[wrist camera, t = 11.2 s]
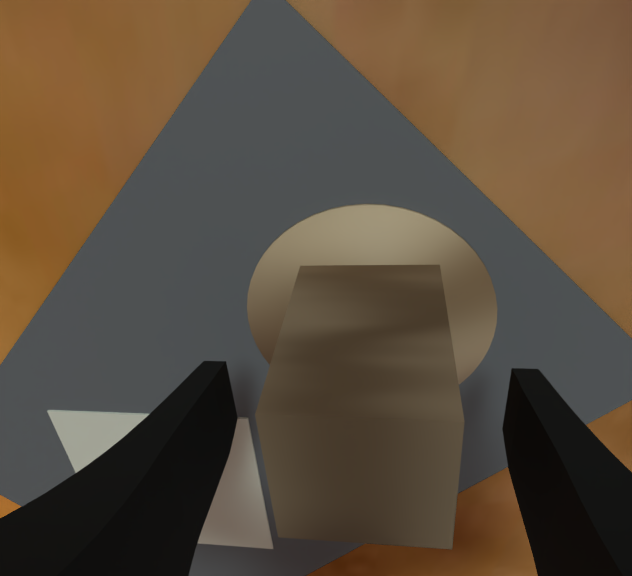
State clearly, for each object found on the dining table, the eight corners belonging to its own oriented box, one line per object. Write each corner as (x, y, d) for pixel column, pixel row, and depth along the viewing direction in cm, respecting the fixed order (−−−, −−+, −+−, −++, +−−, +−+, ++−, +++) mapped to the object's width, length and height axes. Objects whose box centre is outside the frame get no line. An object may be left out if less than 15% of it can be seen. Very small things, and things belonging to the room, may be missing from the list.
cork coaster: (551, 320, 15) (552, 323, 15) (371, 439, 19) (371, 443, 19) (364, 146, 13) (363, 147, 13) (202, 316, 17) (200, 319, 17)
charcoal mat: (670, 376, 16) (671, 378, 16) (226, 616, 27) (226, 618, 27) (265, -20, 12) (264, -20, 12) (-63, 457, 23) (-65, 459, 23)
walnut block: (439, 264, 15) (464, 421, 10) (434, 373, 17) (452, 549, 12) (300, 265, 15) (255, 414, 10) (311, 370, 17) (277, 537, 12)
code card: (106, 534, 24) (104, 537, 24) (48, 409, 20) (46, 412, 20) (273, 547, 23) (272, 550, 23) (248, 417, 19) (247, 420, 19)
